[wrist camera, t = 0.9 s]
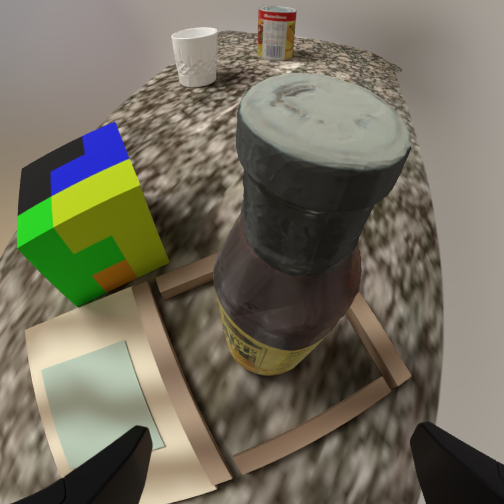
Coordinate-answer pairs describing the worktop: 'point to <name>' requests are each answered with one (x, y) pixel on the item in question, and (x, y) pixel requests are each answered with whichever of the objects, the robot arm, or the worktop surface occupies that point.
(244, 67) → the worktop surface
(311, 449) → the worktop surface
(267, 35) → the canned food
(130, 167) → the puzzle toy
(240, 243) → the sauce bottle
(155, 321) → the wooden frame
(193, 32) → the white cup
